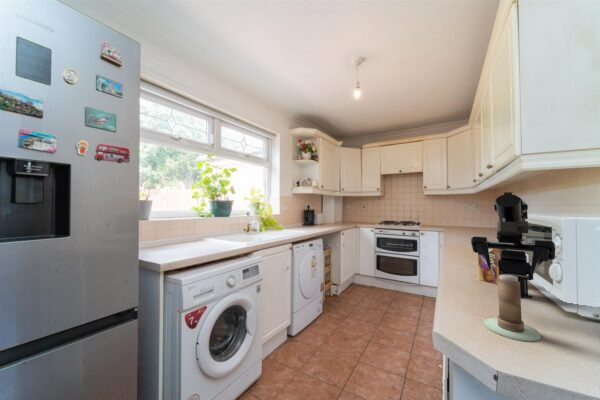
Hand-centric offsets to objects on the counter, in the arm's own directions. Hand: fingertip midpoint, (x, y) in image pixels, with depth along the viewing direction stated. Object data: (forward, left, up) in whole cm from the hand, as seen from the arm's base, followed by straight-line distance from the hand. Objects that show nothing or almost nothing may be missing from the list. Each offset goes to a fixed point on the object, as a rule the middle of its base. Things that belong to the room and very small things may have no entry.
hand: (509, 270), depth 68 cm
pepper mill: (+5, +5, -13) cm, 15 cm away
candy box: (-20, -32, -14) cm, 41 cm away
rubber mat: (+5, +6, -14) cm, 16 cm away
